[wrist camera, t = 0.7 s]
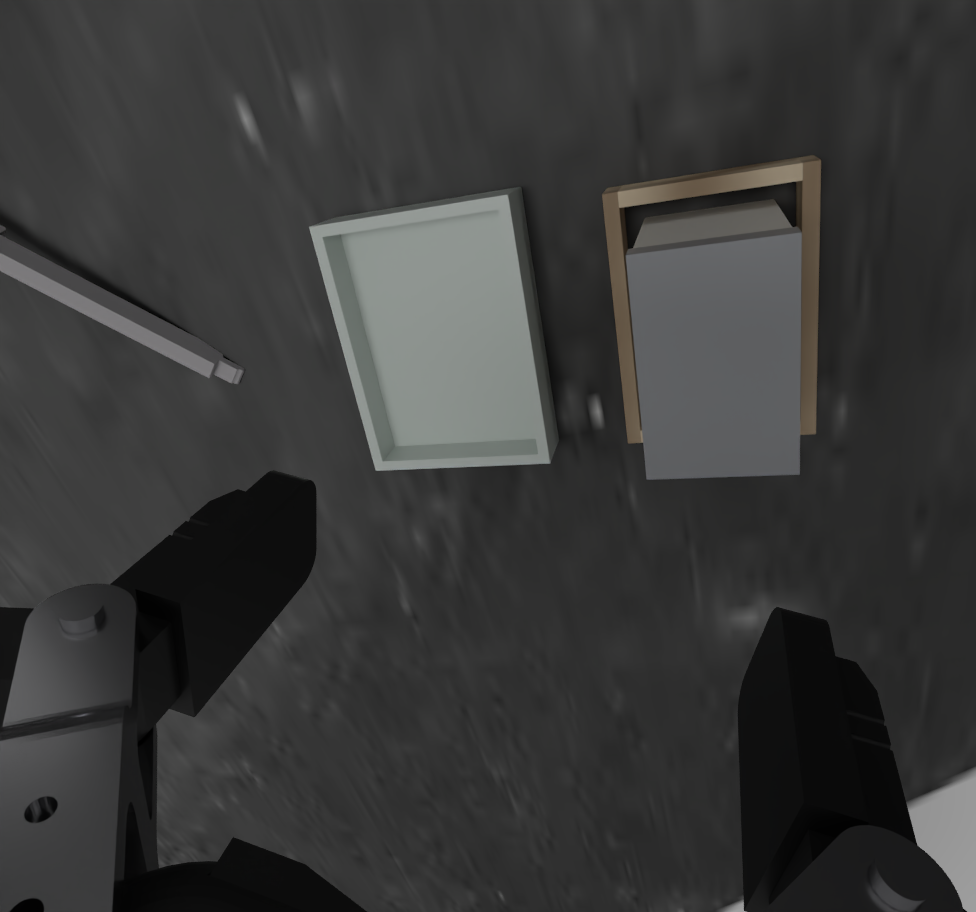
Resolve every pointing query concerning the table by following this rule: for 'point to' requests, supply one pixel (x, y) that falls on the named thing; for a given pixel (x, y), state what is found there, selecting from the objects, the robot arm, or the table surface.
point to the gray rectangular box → (718, 341)
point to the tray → (442, 331)
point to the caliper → (114, 311)
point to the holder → (706, 183)
